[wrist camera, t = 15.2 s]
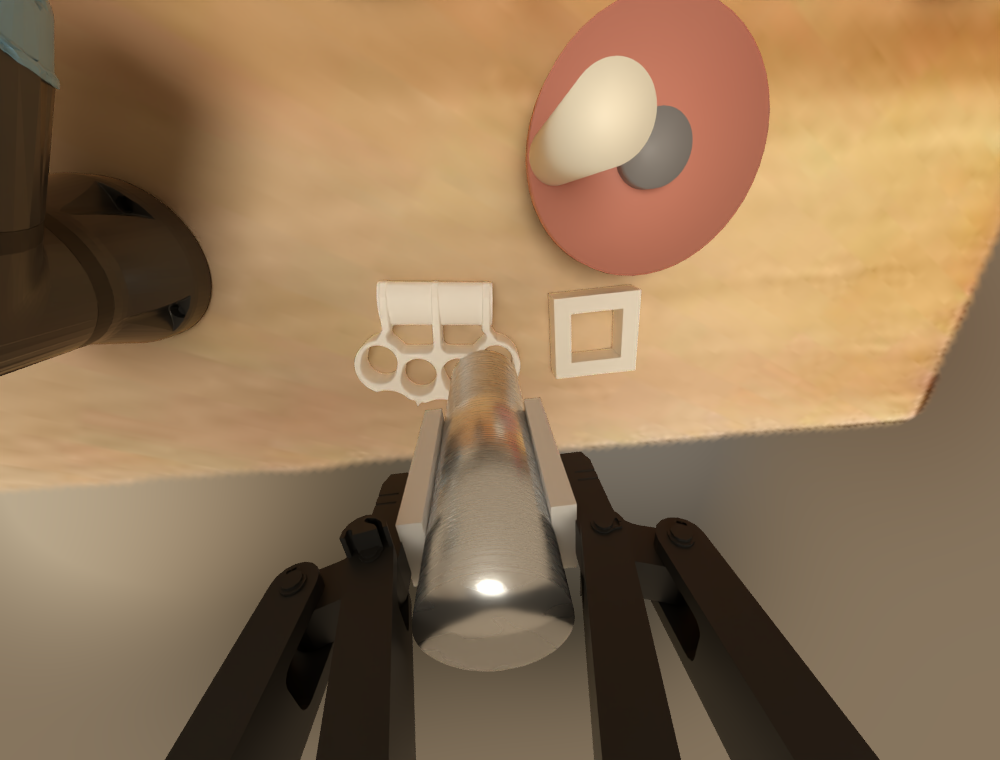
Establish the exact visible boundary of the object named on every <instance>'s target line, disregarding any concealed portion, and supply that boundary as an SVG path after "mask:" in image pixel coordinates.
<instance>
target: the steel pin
mask: <svg viewBox="0 0 1000 760" xmlns="http://www.w3.org/2000/svg"><path fill="white" fill-rule="evenodd" d="M574 619H575V616H574V608H573V604H572V600H571V596H570V592H569V588H568V584H567V579H566V575H565V571H564V567H563V563H562V559H561V554H560V550H559V546H558V542H557V538H556V534H555V531H554V528H553V526H552V524H551V520H550V516H549V511H548V507H547V503H546V499H545V495H544V490H543V486H542V482H541V478H540V474H539V470H538V465H537V461H536V457H535V453H534V449H533V444H532V440H531V436H530V432H529V428H528V423H527V419H526V415H525V410H524V401H523V397H522V393H521V389H520V385H519V380H518V376H517V372H516V369H515V367H514V365H513V364H512V363H511V361H510V360H509V359H508V358H506V357H505V356H504V355H502V354H500V353H498V352H495V351H491V350H479V351H474V352H471V353H469V354H467V355H465V356H464V357H463V358H461V359H460V360H459V361H458V363H457V364H456V365H455V367H454V369H453V372H452V376H451V382H450V388H449V395H448V401H447V407H446V413H445V419H444V426H443V432H442V439H441V445H440V451H439V457H438V464H437V470H436V476H435V482H434V488H433V495H432V501H431V507H430V513H429V520H428V526H427V532H426V538H425V543H424V549H423V555H422V562H421V568H420V574H419V580H418V586H417V592H416V599H415V605H414V611H413V617H412V633H413V636H414V639H415V641H416V642H417V644H418V645H419V647H420V648H421V649H422V650H423V651H424V652H425V653H427V654H428V655H429V656H431V657H432V658H434V659H435V660H437V661H439V662H442V663H444V664H446V665H449V666H453V667H456V668H460V669H465V670H472V671H499V670H506V669H512V668H517V667H521V666H524V665H527V664H530V663H533V662H535V661H538V660H540V659H542V658H544V657H546V656H547V655H548V654H550V653H552V652H553V651H555V650H556V649H557V648H558V647H560V646H561V644H563V642H564V641H565V640H566V639H567V637H568V636H569V634H570V633H571V631H572V628H573V625H574Z"/></svg>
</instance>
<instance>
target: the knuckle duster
mask: <svg viewBox="0 0 1000 760" xmlns="http://www.w3.org/2000/svg"><path fill="white" fill-rule="evenodd" d="M377 307H378V313H379V317H380V321H381V327H382V331H381V332H380V333H377V334H374V335H373V336H371V337H370V338H369V339H368V340H367V341H366V342H365V343H364V344H363V345H362V347H361V348H360V349H359V350H358V352H357V354H356V356H355V361H354V366H355V371H356V374H357V376H358V378H359V379H360V381H361V382H362V383H363V384H364V385H365V386H366V387H368V388H369V389H371V390H373V391H375V392H379V391H385V390H389V391H395V392H398V393H401V394H403V395H404V396H406V397H407V398H408V399H410V400H415V401H416V404H417V406H419V405H420V404H421V403H422V402H424V403H427V402H429V401H432V400H437V399H445V400H448V395H449V388H450V382H451V380H450V379H449V377H448V376H447V373H446V371H445V368H444V365H445V364H446V363H447V362H448V361H450V360H452V359H461V358H463V357H464V356H465V355H467V354H469V353H471V352H474V351H479V350H485V349H486V348H488V347H490V346H494V345H498V346H502V347H505V348H506V349H507V350H509V352H510V353H511V355H512V362H511V363H512V364H513V365H514V367H515V369H516V372H517V376H518V375H519V373H520V359H519V355H518V351H517V348H516V346H515V344H514V343H513V341H512V340H511V339H510V338H509V337H507V336H506V335H504V334H502V333H498V332H496V331H495V330H494V329H493V327H492V326H491V325H492V282H489V281H483V282H439V281H433V282H418V281H388V280H382V281H378V282H377ZM394 325H432V330H433V344H406V343H404V342H403V340H402V339H401V338H400V337H398V336H397V335H395V334H394V333H393V330H392V329H393V326H394ZM443 325H482V331H483V332H484V333H485V334H484V335H482V336H481V337H480V338H479V339H478V340H477V341H476V342H475V343H474V344H448V343H446V342H445V340H444V334H443ZM372 346H384V347H386V348H388V349H390V350H391V351H392V352H393V353H394V354H395V356H396V358H397V362H398V364H397V370H396V371H394V372H392V373H381V372H378V371H376V370H375V369H374V368H373V367H372V366H371V365H370V363H369V360H368V353H369V348H370V347H372ZM413 359H423V360H426V361H428V362H430V363H431V364H432V365H433V366H434V368H435V369H436V373H437V376H436V378H435V379H434V380H433V381H432V382H431V383H429V384H425V385H421V384H416V383H414V382H413V381H411V380H410V379H409V378H408V376H407V374H406V364H407V362H409V361H411V360H413Z"/></svg>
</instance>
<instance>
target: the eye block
mask: <svg viewBox="0 0 1000 760" xmlns="http://www.w3.org/2000/svg"><path fill="white" fill-rule="evenodd" d="M548 294H549V321H550V349H551V369H552V371H553V373H554V375H555V377H556V379H561V378H570V377H579V376H588V375H596V374H605V373H614V372H623V371H632V370H635V368H636V355H637V342H638V329H639V316H640V303H641V289H639V288H637V287H635V286H632V285H630V284H629V285H620V286H611V287H602V288H592V289H583V290H574V291H565V292H556V293H548ZM606 310H613V325H612V348H608V349H599V350H590V351H581V352H572V353H571V314H579V313H588V312H597V311H606Z"/></svg>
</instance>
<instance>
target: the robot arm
mask: <svg viewBox="0 0 1000 760" xmlns="http://www.w3.org/2000/svg"><path fill="white" fill-rule="evenodd" d="M55 88H56V89H59V90H60V82H59V79H58V78H57V76H56V75H55V72H54V15H53V12H52V8H51V6H50V3H49V1H48V0H0V376H2V375H5V374H8V373H11V372H14V371H16V370H19V369H22V368H25V367H28V366H30V365H33V364H36V363H39V362H41V361H44V360H47V359H50V358H53V357H55V356H58V355H61V354H64V353H67V352H69V351H72V350H74V349H77V348H80V347H83V346H86V345H91V344H122V343H147V342H154V341H158V340H163V339H166V338H168V337H171V336H173V335H176V334H178V333H181V332H183V331H185V330H187V329H189V328H191V327H192V326H193V325H195V324H196V323H197V322H198V321H199V320H200V319H201V317H202V316H203V314H204V313H205V311H206V309H207V306H208V304H209V300H210V294H211V280H210V273H209V269H208V265H207V262H206V260H205V257H204V255H203V252H202V250H201V248H200V246H199V245H198V243H197V241H196V240H195V238H194V236H193V235H192V234H191V232H190V231H189V230H188V228H187V227H186V226H185V225H184V223H183V222H182V221H181V220H180V219H179V218H178V217H177V216H176V215H175V214H174V213H173V212H172V211H171V210H170V209H169V208H168V207H166V206H165V205H164V204H163V203H161V202H160V201H159V200H157V199H156V198H155V197H153V196H152V195H150V194H148V193H147V192H145V191H143V190H142V189H140V188H138V187H136V186H134V185H131V184H129V183H127V182H124V181H121V180H118V179H115V178H111V177H107V176H102V175H93V174H83V173H72V172H62V173H51V174H49V161H50V148H51V136H52V123H53V111H54V98H55ZM524 410H525V415H526V419H527V423H528V428H529V432H530V436H531V440H532V444H533V449H534V453H535V457H536V461H537V465H538V470H539V474H540V478H541V482H542V486H543V490H544V495H545V499H546V503H547V507H548V511H549V516H550V520H551V524H552V526H553V528H554V531H555V534H556V538H557V542H558V546H559V550H560V554H561V559H562V563H563V567H564V568H572V567H577V560H578V563H579V566H580V596H582V607H583V620H584V632H585V645H586V659H587V672H588V685H589V698H590V711H591V724H592V736H593V750H594V760H681V758H680V753H679V749H678V745H677V741H676V736H675V732H674V728H673V724H672V719H671V715H670V710H669V706H668V702H667V698H666V694H665V689H664V685H663V680H662V676H661V672H660V668H659V663H658V659H657V655H656V651H655V646H654V642H653V638H652V633H651V629H650V625H649V620H648V616H647V612H646V608H645V603H644V599H649V600H651V602H652V604H653V606H654V608H655V610H656V612H657V614H658V616H659V617H660V620H661V622H662V624H663V626H664V628H665V630H666V632H667V634H668V636H669V638H670V639H671V642H672V643H673V646H674V648H675V650H676V651H677V653H678V656H679V657H680V660H681V661H682V664H683V665H684V668H685V669H686V671H687V674H688V676H689V678H690V680H691V682H692V684H693V685H694V688H695V689H696V691H697V693H698V695H699V697H700V699H701V701H702V703H703V705H704V707H705V709H706V711H707V713H708V715H709V717H710V719H711V721H712V723H713V725H714V727H715V729H716V731H717V733H718V735H719V737H720V739H721V741H722V743H723V745H724V747H725V749H726V751H727V753H728V755H729V757H730V759H731V760H879V758H878V757H877V756H876V754H875V753H874V752H873V751H872V749H871V748H870V747H869V745H868V744H867V743H866V742H865V740H864V739H863V738H862V736H861V735H860V734H859V733H858V731H857V730H856V729H855V727H854V726H853V725H852V724H851V722H850V721H849V720H848V718H847V717H846V716H845V715H844V713H843V712H842V711H841V709H840V708H839V707H838V705H837V704H836V703H835V702H834V700H833V699H832V698H831V696H830V695H829V694H828V693H827V691H826V690H825V689H824V687H823V686H822V685H821V683H820V682H819V681H818V680H817V678H816V677H815V676H814V674H813V673H812V672H811V671H810V669H809V668H808V667H807V665H806V664H805V663H804V661H803V660H802V659H801V658H800V656H799V655H798V654H797V652H796V651H795V650H794V649H793V647H792V646H791V645H790V643H789V642H788V641H787V640H786V638H785V637H784V636H783V634H782V633H781V632H780V630H779V629H778V628H777V627H776V626H775V624H774V623H773V621H772V620H771V619H770V618H769V616H768V615H767V614H766V612H765V611H764V610H763V609H762V607H761V606H760V605H759V603H758V602H757V601H756V599H755V598H754V597H753V596H752V594H751V593H750V592H749V591H748V589H747V588H746V587H745V585H744V584H743V583H742V581H741V580H740V579H739V578H738V576H737V575H736V574H735V572H734V571H733V570H732V569H731V567H730V566H729V565H728V563H727V562H726V561H725V559H724V558H723V557H722V556H721V554H720V553H719V552H718V550H717V549H716V548H715V547H714V546H713V544H712V543H711V542H710V540H709V539H708V538H707V536H706V535H705V534H704V532H702V530H701V529H700V528H698V527H697V526H696V525H695V524H693V523H691V522H689V521H687V520H684V519H680V518H666V519H664V520H661V521H660V522H659V523H658V524H657V525H656V528H653V527H647V526H640V525H636V524H632V523H629V522H627V521H625V520H624V519H623V518H622V517H621V516H620V515H619V514H618V513H616V512H614V510H613V508H612V507H611V504H610V502H609V500H608V498H607V496H606V493H605V491H604V489H603V487H602V485H601V483H600V480H599V479H598V476H597V474H596V472H595V471H594V467H593V465H592V463H591V461H590V459H589V458H588V457H586V456H585V455H584V454H583V453H582V452H574V453H565V454H559V451H558V448H557V445H556V442H555V439H554V436H553V433H552V431H551V428H550V425H549V422H548V419H547V416H546V413H545V410H544V407H543V404H542V401H541V399H540V397H539V398H530V399H524ZM443 426H444V418H443V413H442V409H434V410H425V413H424V417H423V421H422V425H421V428H420V432H419V436H418V440H417V444H416V448H415V452H414V455H413V459H412V463H411V467H410V471H409V473H400V474H392V475H390V476H389V478H388V479H387V480H386V481H385V482H384V483H383V485H382V488H381V490H380V493H379V497H378V499H377V502H376V506H375V508H374V511H373V514H372V515H365V516H363V517H360V518H357V519H356V520H354V521H353V522H351V523H350V524H349V525H348V526H347V527H346V528H345V529H344V530H343V531H342V534H341V536H340V541H341V543H342V546H343V548H344V551H345V553H346V556H347V558H346V559H344V560H342V561H340V562H337V563H335V564H332V565H330V566H327V567H325V568H322V569H318V567H317V566H316V565H315V564H313V563H310V562H302V563H298V564H295V565H293V566H291V567H289V568H287V569H286V570H284V571H283V572H282V573H280V574H279V575H278V576H277V577H276V578H275V580H274V581H273V582H272V583H271V585H270V586H269V588H268V590H267V591H266V593H265V594H264V596H263V598H262V599H261V601H260V603H259V605H258V606H257V608H256V609H255V611H254V613H253V614H252V616H251V618H250V619H249V621H248V623H247V624H246V626H245V628H244V629H243V631H242V633H241V634H240V636H239V638H238V639H237V641H236V643H235V644H234V646H233V648H232V649H231V651H230V653H229V654H228V656H227V658H226V659H225V661H224V663H223V664H222V666H221V667H220V669H219V671H218V672H217V674H216V676H215V677H214V679H213V681H212V683H211V684H210V686H209V687H208V689H207V691H206V692H205V694H204V696H203V697H202V699H201V701H200V702H199V704H198V706H197V707H196V709H195V711H194V713H193V714H192V716H191V717H190V719H189V721H188V722H187V724H186V726H185V727H184V729H183V731H182V732H181V734H180V736H179V737H178V739H177V741H176V742H175V744H174V746H173V747H172V749H171V751H170V752H169V754H168V756H167V757H166V759H165V760H300V759H301V756H302V753H303V750H304V748H305V744H306V742H307V739H308V736H309V733H310V731H311V728H312V725H313V722H314V719H315V716H316V714H317V711H318V708H319V705H320V703H321V700H322V697H323V694H324V691H325V688H326V686H327V683H328V686H327V693H326V699H325V706H324V712H323V718H322V725H321V731H320V737H319V743H318V750H317V756H316V760H416V748H415V713H414V676H413V645H412V644H413V640H412V604H411V598H410V594H409V585H410V579H411V578H412V581H413V584H414V586H418V580H419V574H420V568H421V562H422V555H423V549H424V543H425V538H426V532H427V526H428V520H429V513H430V507H431V501H432V495H433V488H434V482H435V476H436V470H437V464H438V457H439V451H440V445H441V439H442V432H443ZM643 598H644V599H643Z"/></svg>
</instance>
